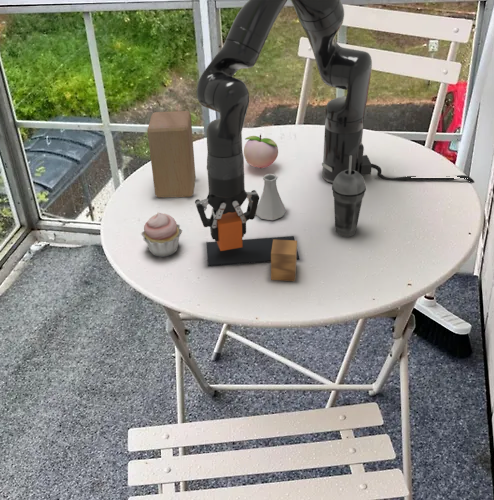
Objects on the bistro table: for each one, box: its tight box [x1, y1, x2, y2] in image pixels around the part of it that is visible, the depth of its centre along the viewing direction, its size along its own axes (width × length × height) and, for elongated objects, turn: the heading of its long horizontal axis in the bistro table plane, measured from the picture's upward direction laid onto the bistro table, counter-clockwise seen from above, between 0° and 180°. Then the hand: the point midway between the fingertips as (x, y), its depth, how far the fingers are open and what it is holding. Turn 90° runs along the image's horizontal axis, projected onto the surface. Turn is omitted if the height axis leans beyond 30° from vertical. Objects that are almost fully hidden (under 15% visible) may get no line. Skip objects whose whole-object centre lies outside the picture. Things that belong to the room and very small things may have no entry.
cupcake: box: [140, 211, 183, 258], centre depth 148 cm, size 9×9×10 cm
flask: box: [255, 173, 287, 221], centre depth 156 cm, size 7×7×10 cm
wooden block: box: [146, 110, 197, 198], centre depth 167 cm, size 10×10×20 cm
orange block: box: [216, 212, 243, 251], centre depth 143 cm, size 5×5×7 cm
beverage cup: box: [331, 155, 367, 238], centre depth 145 cm, size 7×7×20 cm
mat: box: [206, 235, 301, 267], centre depth 147 cm, size 20×8×1 cm, turn 90°
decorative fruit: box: [243, 134, 279, 169], centre depth 174 cm, size 9×8×10 cm
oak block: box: [270, 239, 298, 282], centre depth 138 cm, size 5×5×7 cm
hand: (228, 237), depth 144 cm, fingers closed on orange block, 5 cm apart
